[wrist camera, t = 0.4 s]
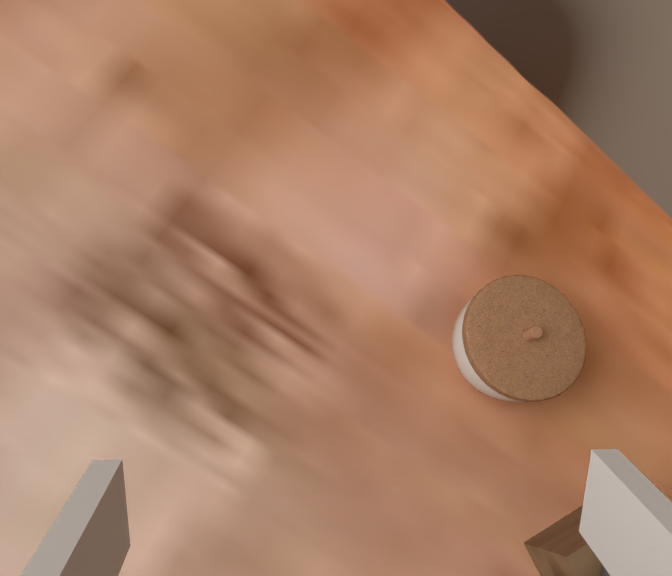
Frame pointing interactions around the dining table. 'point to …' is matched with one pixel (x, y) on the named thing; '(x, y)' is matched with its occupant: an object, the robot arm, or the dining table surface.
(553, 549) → the tan square block
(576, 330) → the lidded jar
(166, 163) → the dining table surface
